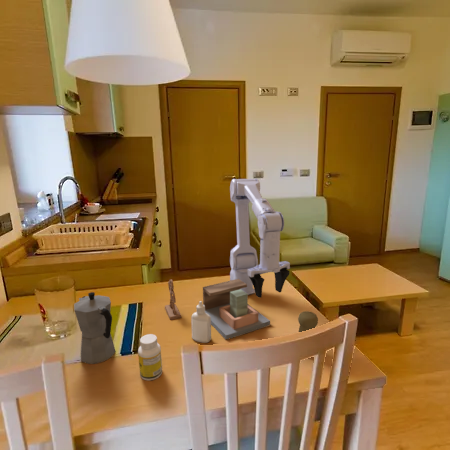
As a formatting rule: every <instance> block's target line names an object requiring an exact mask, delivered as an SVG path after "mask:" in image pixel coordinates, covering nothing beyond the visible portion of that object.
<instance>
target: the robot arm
mask: <svg viewBox="0 0 450 450" xmlns="http://www.w3.org/2000/svg"><path fill="white" fill-rule="evenodd" d="M229 193H230V194H229V195H230V201H231V202H232V203H234V204H235V205H234V206H235V222H236V226H235V227H236V245H235V246H234V247H232V248H231V249H230V256H229V264H230V268H231V270H230V272H229V281H231V280H235V279H240V280H241V281H243V282H244V283H246V284H247V287H245V288H241V290H243V291H244V292H246V293H247V294H248V296H249V295H253V294H255V296H256V297H257V298H259V299H261V298H262V296H263V286H264V281H265V278H263V277H262V274H268V273H274V282H275V283H274V285H275V286H274V287H275V288H274V289H275V291H277V292H278V293H282V291H283V287H284V285H285V282H286V279H287V278H288V277H289V275H290V270H289V269H291V266H290V265H291V263H290V262H289V261H288V260H284V261H280V247H281V244H280V243H281V242H280V241H281V232H283V231H284V228H285V219H284V215H283V214H282V212H281V211H277V210H275V209H274V208H273V207H272V205H271V203H270V202H269V201H268V199H267V198H264V197H263V196H262V193H261V182H260V180H259V179H258V178H255V177H254V178H238V179H237V178H232V179H231V181H230V186H229ZM250 203H251V204H252V205H251V211H252V212H253V214H254V215H255V217H256V219H257V227H258V237H259V238H260V243H259V245H260V247H259V249H260V250H259V251H260V252H259V253H260V254H259V257H258V253H257V249H256V248H255V247H253V246H252V245H251V244H250V243H251V241H250V237H251V236H250V220H249V219H250V217H249V204H250ZM258 258H259V259H258Z"/></svg>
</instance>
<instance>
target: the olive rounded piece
mask: <svg viewBox="0 0 450 450" xmlns="http://www.w3.org/2000/svg"><path fill="white" fill-rule="evenodd" d="M297 321H298V324H299V328H298V332H302V331H306V330H309V329H312V328H315V327H316V328H317V326H318V324H319V318H318V316H317V314H316V313H314V312H312V311H310V310H306V311H302V312H300V313H299V314H298V317H297Z"/></svg>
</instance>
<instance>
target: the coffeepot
mask: <svg viewBox="0 0 450 450" xmlns="http://www.w3.org/2000/svg"><path fill="white" fill-rule="evenodd" d="M95 293H96V292H93V291H92V292H88V293H87V295H85V296H82V297H79V298H78V300H79V301H77V302H75V303H73V310H74V314H75V316H76V317H75V318H76V320H77V324H78V326H79V329H80V332H81V343H80V361H81V362H83V363H84V364H89V365H95V364H100V363H102V362H105V361H107V360H108V359H110V358H112V356H113V355H115V353H116V348H115V344H114V340H113V338H112V334H111V332H112V322H113V316H112V313H111V307H112V305H111V303H112V301H111V298H110V296H105V295H99V294H98V295H95Z"/></svg>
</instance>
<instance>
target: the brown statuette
mask: <svg viewBox="0 0 450 450" xmlns="http://www.w3.org/2000/svg"><path fill="white" fill-rule="evenodd" d="M167 285H168V291H169V295H170V299H169V304H166V305H164V310H165V312H166V314H167V316H168V319H169V320H170V321H172V320H177V319H181V318H182V314H181V312H180V311H179V308H178V307H177V305H176V295H175V294H176V293H175V292H174V290H175V289H174V287H175V286H174V281H173V279H169V281H168V282H167Z"/></svg>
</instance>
